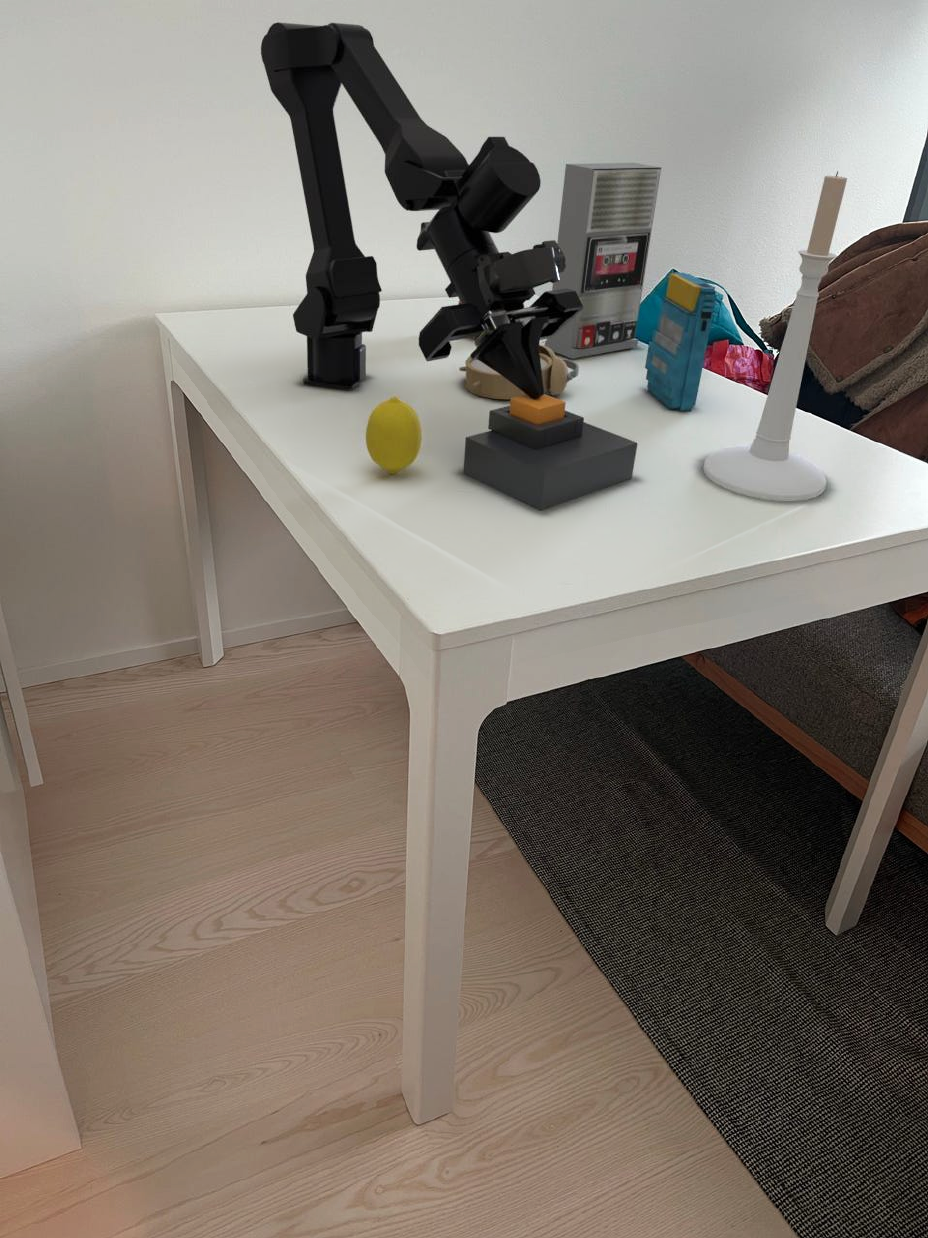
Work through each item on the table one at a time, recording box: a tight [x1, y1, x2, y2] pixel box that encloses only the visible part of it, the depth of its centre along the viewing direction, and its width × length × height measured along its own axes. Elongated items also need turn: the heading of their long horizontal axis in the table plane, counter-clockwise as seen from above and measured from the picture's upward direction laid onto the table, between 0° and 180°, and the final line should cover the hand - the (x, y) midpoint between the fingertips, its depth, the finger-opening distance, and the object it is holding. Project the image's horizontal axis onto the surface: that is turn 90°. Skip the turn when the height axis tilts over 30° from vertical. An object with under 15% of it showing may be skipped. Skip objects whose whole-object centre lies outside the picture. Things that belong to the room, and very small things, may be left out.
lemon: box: [365, 396, 423, 475], centre depth 94 cm, size 6×6×8 cm
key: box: [509, 393, 566, 425], centre depth 96 cm, size 4×4×2 cm
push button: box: [462, 405, 638, 512], centre depth 97 cm, size 12×14×6 cm
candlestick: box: [702, 170, 848, 502], centre depth 94 cm, size 13×13×30 cm
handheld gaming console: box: [644, 271, 717, 413], centre depth 119 cm, size 10×4×15 cm, turn 12°
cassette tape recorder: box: [544, 162, 662, 360], centre depth 135 cm, size 14×6×25 cm, turn 129°
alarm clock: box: [459, 344, 580, 400], centre depth 122 cm, size 11×5×15 cm
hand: (539, 396), depth 96 cm, fingers closed, pressing on key
